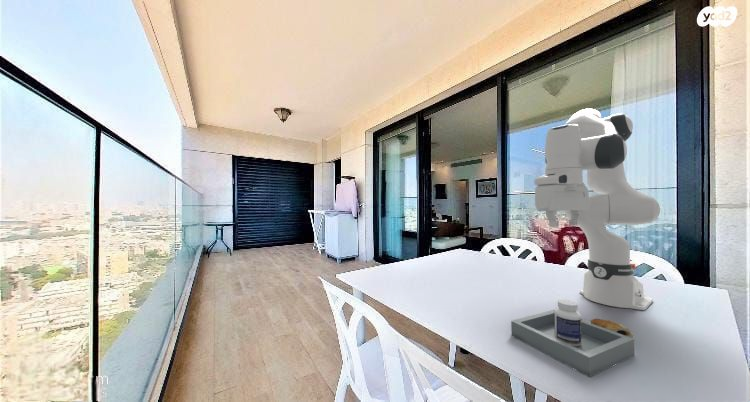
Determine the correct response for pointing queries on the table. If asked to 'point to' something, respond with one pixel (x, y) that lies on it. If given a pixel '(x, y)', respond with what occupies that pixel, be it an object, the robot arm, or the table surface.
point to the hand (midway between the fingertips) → (564, 226)
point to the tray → (587, 358)
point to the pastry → (612, 327)
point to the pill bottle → (568, 323)
